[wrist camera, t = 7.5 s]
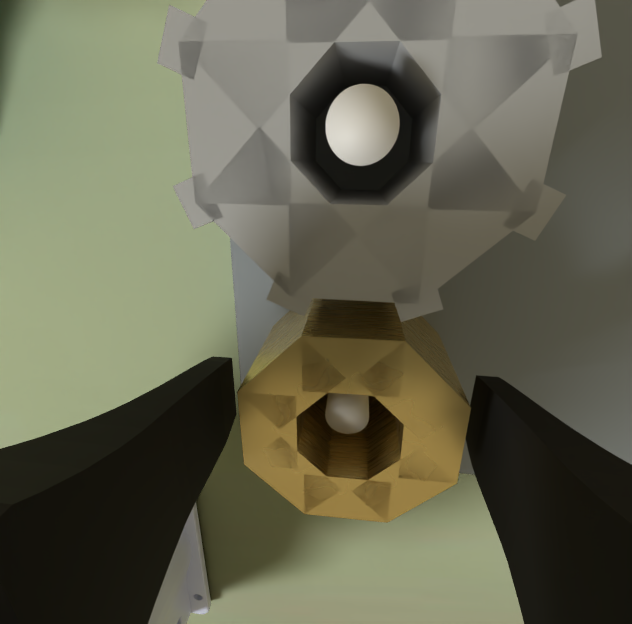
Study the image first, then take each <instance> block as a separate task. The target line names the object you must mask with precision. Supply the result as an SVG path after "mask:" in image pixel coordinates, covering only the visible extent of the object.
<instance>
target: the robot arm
mask: <svg viewBox="0 0 632 624" xmlns="http://www.w3.org/2000/svg"><path fill="white" fill-rule="evenodd" d="M470 407H471V411H470V416H469V422H468V427H467V432H466V438H465V439H466V443H467V448H468V452H469V456H470V460H471V464H472V467H473V470H474V473H475V476H476V478H477V481H478V484H479V486H480V489H481V492H482V494H483V497H484V499H485V502H486V505H487V507H488V510H489V512H490V515H491V518H492V520H493V523H494V525H495V528H496V531H497V533H498V536H499V538H500V541H501V544H502V547H503V550H504V553H505V556H506V558H507V561H508V565H509V568H510V572H511V576H512V579H513V583H514V586H515V590H516V594H517V597H518V601H519V605H520V608H521V612H522V616H523V620H524V624H632V465H631V464H630V463H628V462H626V461H624V460H623V459H621V458H619V457H617V456H615V455H614V454H612V453H610V452H609V451H607V450H605V449H604V448H602V447H601V446H599V445H597V444H596V443H594V442H593V441H591V440H590V439H588V438H586V437H585V436H583V435H582V434H580V433H579V432H577V431H576V430H574V429H573V428H571V427H570V426H568V425H567V424H565V423H564V422H562V421H561V420H559V419H558V418H556V417H555V416H554V415H552V414H551V413H549V412H548V411H547V410H545V409H544V408H542V407H541V406H540V405H538V404H537V403H535V402H534V401H533V400H531V399H530V398H529V397H527V396H526V395H524V394H523V393H522V392H520V391H519V390H517V389H516V388H515V387H513V386H512V385H510V384H509V383H507V382H506V381H504V380H503V379H501V378H499V377H493V376H478V375H476V378H475V383H474V388H473V393H472V398H471V403H470ZM235 416H236V402H235V390H234V378H233V366H232V358H225V357H211V358H209V359H207V360H205V361H203V362H201V363H199V364H197V365H195V366H194V367H192V368H190V369H188V370H187V371H185V372H183V373H182V374H180V375H178V376H176V377H175V378H173V379H171V380H169V381H168V382H166V383H164V384H162V385H160V386H159V387H157V388H155V389H153V390H151V391H149V392H147V393H145V394H143V395H141V396H139V397H137V398H136V399H134V400H132V401H130V402H128V403H126V404H124V405H121V406H119V407H117V408H115V409H113V410H111V411H108V412H106V413H103V414H101V415H99V416H96V417H94V418H92V419H89V420H87V421H84V422H82V423H79V424H76V425H73V426H70V427H67V428H65V429H62V430H59V431H56V432H53V433H51V434H48V435H45V436H42V437H39V438H36V439H32V440H29V441H26V442H23V443H19V444H16V445H12V446H9V447H5V448H2V449H0V624H187V621H188V618H189V616H190V613H197V614H205V613H207V612H208V611H209V609H210V606H211V599H210V593H209V586H208V579H207V573H206V566H205V559H204V552H203V546H202V539H201V532H200V525H199V519H198V512H197V505H196V501H197V499H198V497H199V495H200V493H201V491H202V489H203V487H204V485H205V483H206V481H207V479H208V477H209V476H210V474H211V472H212V470H213V468H214V466H215V464H216V462H217V460H218V458H219V456H220V454H221V452H222V450H223V448H224V446H225V444H226V442H227V439H228V436H229V434H230V431H231V428H232V425H233V422H234V419H235Z"/></svg>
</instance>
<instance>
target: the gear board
mask: <svg viewBox="0 0 632 624" xmlns="http://www.w3.org/2000/svg"><path fill="white" fill-rule="evenodd" d="M157 63H158V64H160V65H162V66H164V67H167V68H169V69H171V70H173V71H175V72H177V73H179V74H181V75H182V82H183V92H184V101H185V111H186V120H187V130H188V139H189V148H190V158H191V167H192V178H189V179H187V180H185V181H183V182H181V183H179V184H176V185H174V186H173V188H174V190H175V192H176V194H177V196H178V198H179V200H180V202H181V204H182V206H183V208H184V210H185V212H186V214H187V216H188V218H189V220H190V222H191V224H192V226H193V228H194V229H195V228H198V227H200V226H203V225H205V224H208V223H210V222H213V221H214V222H215V223H216V224H217V225H218V226H219V227H220V228H221V229H222V230H223V231H224V232H225V233H226V234H227V235H228V236H229V237H230V243H231V257H232V270H233V284H234V297H235V311H236V324H237V338H238V351H239V365H240V378H241V384H242V383H243V381H244V379H245V377H246V375H247V373H248V372H249V370H250V368H251V366H252V364H253V362H254V360H255V359H256V357H257V355H258V353H259V351H260V349H261V348H262V346H263V344H264V342H265V340H266V338H267V337H268V335H269V333H270V331H271V329H272V327H273V326H274V325H275V324H276V323H277V322H278V321H279V320H280V319H281V318H282V317H283V316H284V315H285V314H287V313H288V312H289V311H290V310H291V311H293V312H295V313H298V314H300V315H302V316H305V314H306V311H307V309H308V307H309V305H310V303H311V301H312V298H317V299H336V300H355V301H374V302H393V303H395V306H396V309H397V312H398V315H399V318H400V321H401V322H403V321H406V320H409V319H413V318H416V317H419V316H422V317H423V318H424V319H425V320H426V321H427V322H428V323H429V324H430V325H431V326H432V327H433V328H434V329H435V330H436V331H437V332H438V333H439V336H440V338H441V340H442V343H443V345H444V347H445V350H446V352H447V354H448V356H449V359H450V361H451V363H452V366H453V368H454V370H455V373H456V375H457V377H458V379H459V382H460V384H461V386H462V389H463V391H464V393H465V395H466V398H467V400H468V402H469V405H470V403H471V398H472V393H473V388H474V383H475V378H476V375H478V376H493V377H499V378H501V379H503V380H504V381H506V382H507V383H509V384H510V385H512V386H513V387H515V388H516V389H517V390H519V391H520V392H522V393H523V394H524V395H526V396H527V397H529V398H530V399H531V400H533V401H534V402H535V403H537V404H538V405H540V406H541V407H542V408H544V409H545V410H547V411H548V412H549V413H551V414H552V415H554V416H555V417H556V418H558V419H559V420H561V421H562V422H564V423H565V424H567V425H568V426H570V427H571V428H573V429H574V430H576V431H577V432H579V433H580V434H582V435H583V436H585V437H586V438H588V439H590V440H591V441H593V442H594V443H596V444H597V445H599V446H601V447H602V448H604V449H605V450H607V451H609V452H610V453H612V454H614V455H615V456H617V457H619V458H621V459H623V460H624V461H626V462H628V463H630V464H631V465H632V0H206V2H205V3H204V5H203V6H202V8H201V9H200V10H199V12H198V13H197V15H196V16H195V17H194V16H192V15H190V14H188V13H186V12H184V11H182V10H180V9H177V8H175V7H173V6H171V5H169V8H168V13H167V18H166V23H165V28H164V33H163V37H162V42H161V47H160V52H159V57H158V62H157ZM325 418H326V421H327V423H328V424H329V426H330V427H331V428H332V429H334V430H335V431H337V432H340V433H344V434H353V433H357V432H359V431H361V430H362V429H364V428H365V427H366V425H367V423H368V421H369V395H354V394H339V393H328V398H327V405H326V411H325ZM459 473H464V474H475V473H474V470H473V467H472V464H471V460H470V456H469V452H468V448H467V443H466V439H465V443H464V448H463V454H462V459H461V464H460V470H459Z"/></svg>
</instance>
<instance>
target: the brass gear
mask: <svg viewBox="0 0 632 624" xmlns="http://www.w3.org/2000/svg"><path fill="white" fill-rule="evenodd" d="M328 393H339V394H354V395H369V421H368V423H367V425H366V427H365V428H364V429H362V430H361V431H359V432H357V433H353V434H344V433H340V432H337V431H335V430H334V429H332V428H331V427H330V426H329V424H328V423H327V421H326V418H325V411H326V405H327V398H328ZM237 395H238V406H239V416H240V427H241V437H242V447H243V458H244V465H246V466H247V467H248V468H249V469H250V470H252V471H253V472H254V473H255V474H256V475H258V476H259V477H260V478H261V479H263V480H264V481H265V482H266V483H267V484H269V485H270V486H271V487H272V488H274V489H275V490H276V491H277V492H278V493H280V494H281V495H282V496H283V497H284V498H286V499H287V500H288V501H289V502H291V503H292V504H293V505H294V506H295V507H297V508H298V509H299V510H300V511H302V512H303V513H304V514H309V515H319V516H329V517H339V518H348V519H358V520H368V521H378V522H389V521H391V520H393V519H395V518H396V517H398V516H400V515H402V514H403V513H405V512H407V511H409V510H411V509H412V508H414V507H416V506H418V505H419V504H421V503H423V502H425V501H427V500H428V499H430V498H432V497H434V496H435V495H437V494H439V493H441V492H443V491H444V490H446V489H448V488H450V487H451V486H453V485H455V484H457V481H458V475H459V470H460V464H461V459H462V454H463V448H464V443H465V438H466V432H467V427H468V422H469V416H470V411H471V407H470V405H469V402H468V400H467V398H466V395H465V393H464V391H463V389H462V386H461V384H460V382H459V379H458V377H457V375H456V373H455V370H454V368H453V366H452V363H451V361H450V359H449V356H448V354H447V352H446V350H445V347H444V345H443V343H442V340H441V338H440V336H439V333H438V332H437V331H436V330H435V329H434V328H433V327H432V326H431V325H430V324H429V323H428V322H427V321H426V320H425V319H424V318H423V317H422V316H419V317H416V318H413V319H409V320H406V321H403V322H401V321H400V318H399V315H398V312H397V309H396V306H395V303H393V302H374V301H355V300H336V299H317V298H312V301H311V303H310V305H309V307H308V309H307V311H306V314H305V316H302V315H300V314H298V313H295V312H293V311H291V310H290V311H289V312H288V313H287V314H285V315H284V316H283V317H282V318H281V319H280V320H279V321H278V322H277V323H276V324H275V325H274V326H273V327H272V329H271V331H270V333H269V335H268V337H267V338H266V340H265V342H264V344H263V346H262V348H261V349H260V351H259V353H258V355H257V357H256V359H255V360H254V362H253V364H252V366H251V368H250V370H249V372H248V373H247V375H246V377H245V379H244V381H243V383H242V384H241V386H240V388H239V390H238V392H237Z"/></svg>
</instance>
